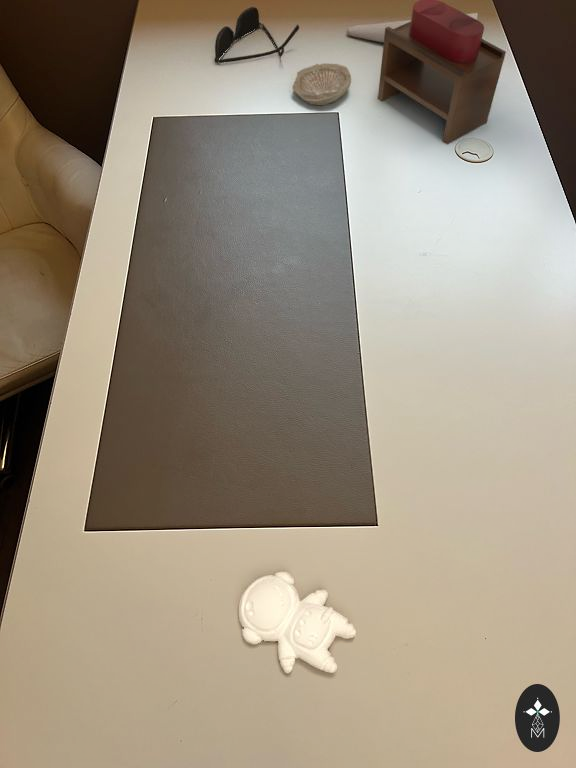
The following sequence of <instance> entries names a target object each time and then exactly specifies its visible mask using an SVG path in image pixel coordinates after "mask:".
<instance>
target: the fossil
mask: <svg viewBox="0 0 576 768" xmlns="http://www.w3.org/2000/svg"><path fill="white" fill-rule="evenodd" d="M351 83H352V74H351V72H350V70H349V69H348V67H347V66H345V65H343V64H338V63H320V64H319V63H316V64H313V65H310V66H308V67H305V68H302V69H300V70H299V71H297V74H296V77H295V80H294V82H293V85H292V91H293V92H294V93H295V94H296V95H297V96H298V97H299V98H300V99H301V100H303V101H304V102H306V103H308V104H311V105H315V106H324V105H329V104H331V103H333V102H335V101H337V100H338V99H340V98H341V97H342V96H343V95H344V94H345V93H346V92H347V91H348V90H349V88H350V86H351Z"/></svg>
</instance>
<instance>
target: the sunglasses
mask: <svg viewBox="0 0 576 768" xmlns="http://www.w3.org/2000/svg"><path fill="white" fill-rule="evenodd" d="M260 26H261V27H260ZM257 27H259V28H262V27H263V28H262V29H263V30H264V32H265V31H266V32H265V33H266V35H267V34H268V35H269V36H268V35H267V36H268V38H269V39H270V38H271V39H272V41H273V42H274V44H275V46H276V47H275V46H274V47H275V49H273V50H269V51H266V52H262V53H260V52H259V53H255V54H249V55H243V56H236V57H227V58H221V59H220V60H219V58H220V57H221V56H222V55H223V53H225V51H226V50H227V49H228V48H229V47H230V46H231V47H232V45H233V44H234V42H235V40H236V41H238V40H240V39H242V38H241V37H242V36H244V35H245V34H247V33H249V32H251V31H253V30H254V29H256V28H257ZM257 29H258V28H257ZM257 29H256V30H257ZM299 30H300V25H299V24H296V25H295V26H294V28H293V30H292V31H291V32H290V34H289V35H288V36H287V38H286V39H285V41H284V42H283V43H282V44H281V45H280V46H279V45H278V44H277V43H276V41H275V39H274V37H273V36H272V34H271V33H270V31H269V30H268V29H267V27H266V26H265V25H264V23H261V22H260V14H259V9H258V8H257V7H255V6H251V7H249V8H246V9H244V10H243V12H241V13H240V15H239V16H238V18H237V20H236V24H235V29H234V31H233V30H232V28H231V27H230V26H228V25H224V27H222V28H221V29H220V30H219V31H218V32H217V35H216V38H215V43H214V58H213V59H214V63H216V64H217V63H218V64H224V62H225V63H232V62H233V63H234V62H239V61H245V60H251V59H252V60H253V59H258V58H262V57H267V56H270V55H273V54H275V53H277V54H278V53H279V54H278V56H279V57H282V56H283V55H284V53H285V47H286V46H287V45H288V44H289V42H290V41H291V40H292V38H293V37H294V36H295V34H296V33H298V31H299ZM253 32H254V31H253ZM239 38H240V39H239ZM237 39H238V40H237ZM271 39H270V40H271ZM272 41H271V42H272ZM273 42H272V43H273ZM231 44H232V45H231ZM274 44H273V45H274ZM231 47H230V48H231ZM230 48H229V49H230ZM276 48H277V49H276ZM229 49H228V50H229Z"/></svg>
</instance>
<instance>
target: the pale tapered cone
mask: <svg viewBox="0 0 576 768" xmlns="http://www.w3.org/2000/svg"><path fill="white" fill-rule="evenodd" d="M465 14H466V15H468V16H470V17H472V18H474V19H476V20H478V19H479V12H472V13H471V12H470V13H465ZM408 22H411V19H407V20H398V21H397V20H396V21H388V22H387V21H386V22H379V23H370V24H358V25H353V26H349V27H347V29H346V34H347V35H348V36H350V37H353V38H354V37H355V38H358V39H362V40H363V39H364V40H367V41H373V42H379V43H382V44H384V35H385V28H386V27H390V28H392V29H395V28H397V27H399V26H401V25H404V24H406V23H408Z"/></svg>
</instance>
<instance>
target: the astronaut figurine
mask: <svg viewBox="0 0 576 768" xmlns="http://www.w3.org/2000/svg"><path fill="white" fill-rule="evenodd" d="M328 597H329V594H328V591H327V590H325V589H318V590H316V591H315V592H311V593H309V594H308V595H307V596H306V597H304V598H303V599H302V600H301V599H300V595H299V593H298V590H297V589H296V587H295V580H294V577H293V576H292V575H291V574H290V573H289V572H286V571H277V572H276V573H275V574H274V575H271V574H268V575H264V576H261V577H259V578H257V579H256V580H254V581H253V582H252V583H250V584H249V585H248V586H247V587H246V589H245V590H244V591H243V593H242V595H241V597H240V600H239V604H238V620H239V623H240V625H241V627H242V630H241V635H242V638H243V639H244V641H245V642H246V643H249V644H250V643H251V644H250V645H259V644H261V643H262V642H266V641H271V642H275V641H278V642H277V645H278V646H277V655H278V660H279V664H280V666H281V668H282V669H283V671H284V673H285V674H290V673H291V672H293V669H294V667H295V663H296V659H301V660H302V661H304V662H306V663H308V665H310V666H312V667H313V666H314V668H315V669H318V670H321V671H322V672H325V673H330V674H333V673H336V671H337V669H338V664H337V662H336V659H335V658H334V657H333V656H332V655H331V653H330V652H329V650H328V649H329V648H330V646H331V645H332V644H333V642H334V640H335V638H336V637H340V638H342V639H346V640H347V639H352V638H354V637H356V634H357V630H356V628H355V627H354V625H353V623H349V619H348V618H347V617H345V616H344V615H342V614H341V613H339V612H337V611H336V610H334V608H333V607H332V606H325V604H326V602H327V599H328ZM243 627H244V629H243ZM262 640H264V641H262ZM261 641H262V642H261ZM260 642H261V643H260ZM258 643H259V644H258ZM295 658H296V659H295Z"/></svg>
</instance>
